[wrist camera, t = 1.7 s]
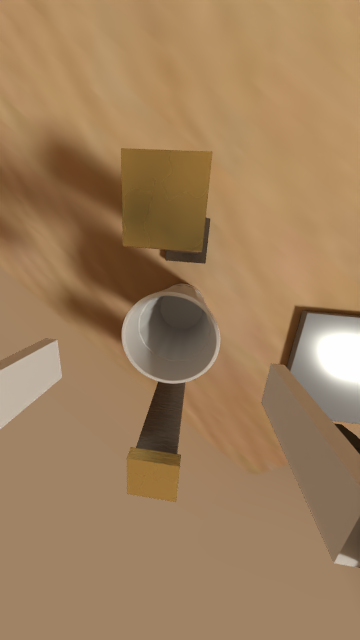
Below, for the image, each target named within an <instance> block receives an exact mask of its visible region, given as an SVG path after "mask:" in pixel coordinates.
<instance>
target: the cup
mask: <svg viewBox="0 0 360 640" xmlns="http://www.w3.org/2000/svg"><path fill="white" fill-rule="evenodd" d="M121 335H122V344H123V348H124V351H125V353H126V355H127V357H128V359H129V360H130V362H131V363H132V364H133V366H134V367H135V368H136V369H137V370H139V371H140V372H141V373H142V374H144V375H145V376H147V377H149V378H151V379H153V380H156V381H159V382H164V383H184V382H188V381H191V380H193V379H196V378H198V377H199V376H201V375H202V374H204V373H205V372H206V371H207V370H208V369H209V368H210V367H211V366H212V364H213V363H214V361H215V359H216V357H217V355H218V352H219V348H220V332H219V328H218V325H217V322H216V320H215V318H214V316H213V315H212V313H211V312H210V310H209V308H208V307H207V305H206V303H205V301H204V298H203V296H202V294H201V293H200V291H199V290H198V289H196V288H195V287H193V286H191V285H189V284H176V285H173V286H171V287H169V288H167V289H165V290H162V291H159V292H156V293H153V294H150V295H148V296H146V297H144V298H142V299H141V300H139V301H138V302H137V303H135V304H134V305H133V306H132V308H131V309H130V310H129V312H128V313H127V315H126V317H125V319H124V322H123V326H122V334H121Z"/></svg>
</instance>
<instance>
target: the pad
mask: <svg viewBox="0 0 360 640" xmlns="http://www.w3.org/2000/svg"><path fill="white" fill-rule="evenodd" d="M287 369H288V370H289V371H290V372H291V373H292V374H293V376H294V377H295V378H296V379H297V380H298V382H299V383H300V384H301V385H302V386H303V388H304V389H305V390H306V391H307V392H308V393H309V395H310V396H311V397H312V398H313V399H314V401H315V402H316V403H317V404H318V405H319V407H320V408H321V409H322V410H323V411H324V412H325V414H326V415H327V416H328V417H329V418H330V420H332V421H340V422H347V423H355V424H360V316H356V315H345V314H335V313H324V312H313V311H302V315H301V318H300V322H299V325H298V329H297V332H296V336H295V339H294V343H293V346H292V350H291V353H290V357H289V360H288V364H287Z"/></svg>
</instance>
